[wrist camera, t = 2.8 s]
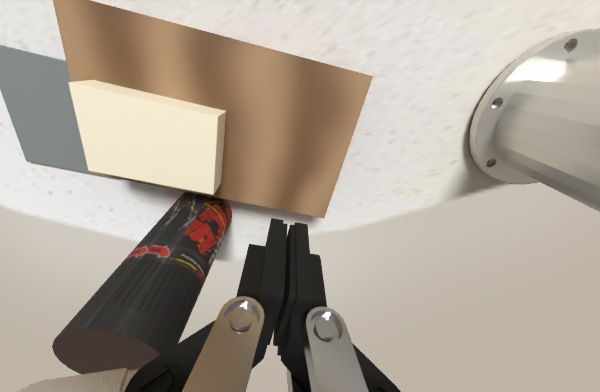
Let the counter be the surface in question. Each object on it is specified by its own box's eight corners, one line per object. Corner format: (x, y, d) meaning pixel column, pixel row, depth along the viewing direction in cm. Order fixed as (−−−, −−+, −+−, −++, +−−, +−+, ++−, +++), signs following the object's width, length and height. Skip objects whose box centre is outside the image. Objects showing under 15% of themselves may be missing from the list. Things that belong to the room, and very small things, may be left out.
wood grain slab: (359, 73, 20) (372, 76, 16) (320, 196, 25) (324, 218, 22) (100, 4, 17) (50, -11, 14) (122, 156, 23) (91, 173, 20)
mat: (104, 70, 19) (101, 70, 19) (120, 177, 24) (119, 179, 24) (-13, 42, 18) (-17, 42, 18) (29, 160, 23) (26, 161, 23)
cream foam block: (226, 110, 17) (217, 116, 15) (220, 183, 20) (213, 194, 18) (93, 79, 16) (68, 82, 14) (107, 160, 19) (88, 170, 17)
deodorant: (169, 189, 25) (27, 330, 12) (225, 187, 25) (144, 326, 12) (186, 234, 28) (86, 385, 15) (236, 231, 28) (179, 383, 15)
